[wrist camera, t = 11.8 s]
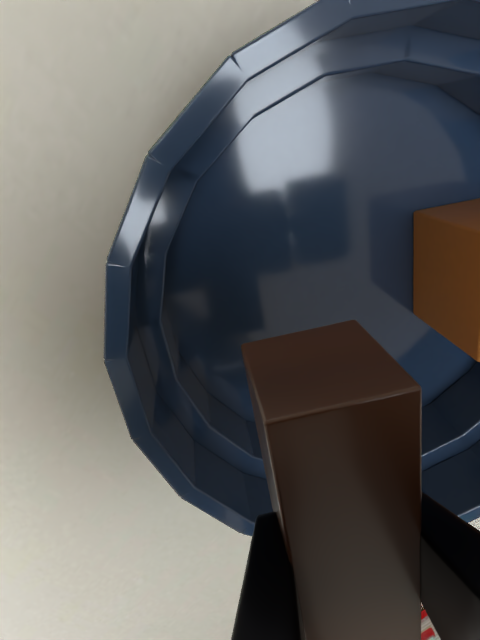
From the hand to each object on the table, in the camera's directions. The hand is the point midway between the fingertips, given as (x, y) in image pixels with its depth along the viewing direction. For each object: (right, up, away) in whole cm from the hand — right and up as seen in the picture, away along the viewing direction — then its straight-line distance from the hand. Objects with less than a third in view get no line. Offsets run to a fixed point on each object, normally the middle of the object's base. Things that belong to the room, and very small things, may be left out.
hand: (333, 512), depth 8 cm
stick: (0, 0, +1) cm, 1 cm away
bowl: (+2, +5, +8) cm, 10 cm away
